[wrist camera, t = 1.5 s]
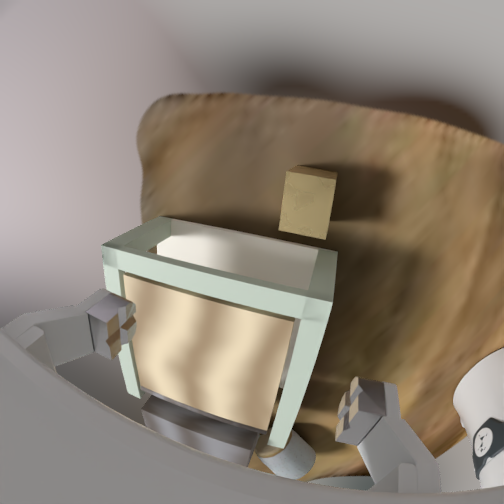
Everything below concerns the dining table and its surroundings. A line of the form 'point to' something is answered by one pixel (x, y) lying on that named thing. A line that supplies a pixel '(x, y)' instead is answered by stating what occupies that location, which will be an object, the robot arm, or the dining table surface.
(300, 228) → the block
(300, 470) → the ceramic mug
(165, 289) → the trapdoor plate
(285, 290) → the frame
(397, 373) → the dining table surface
